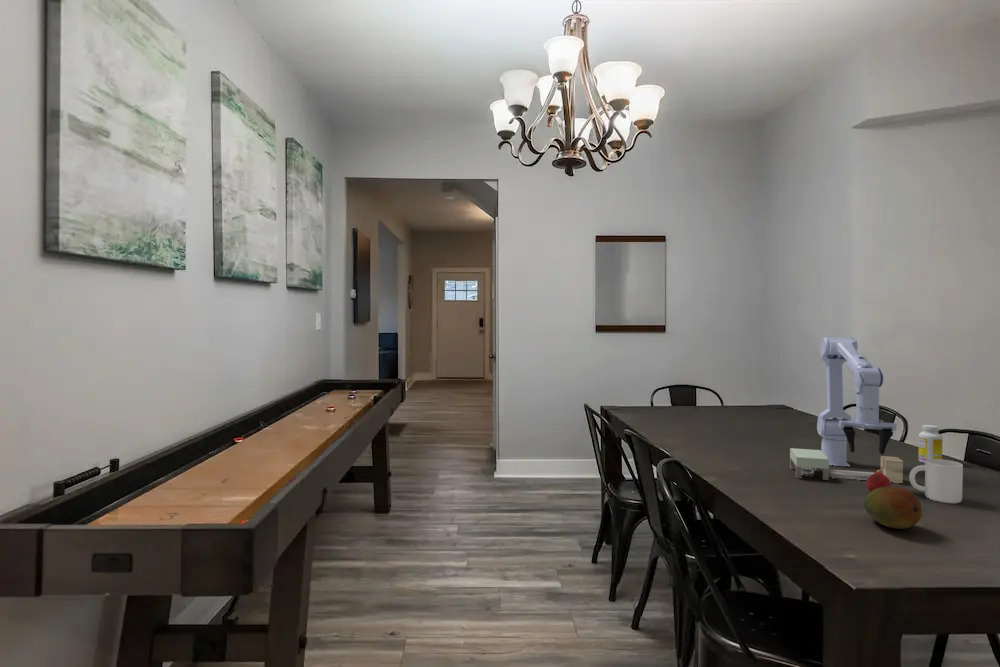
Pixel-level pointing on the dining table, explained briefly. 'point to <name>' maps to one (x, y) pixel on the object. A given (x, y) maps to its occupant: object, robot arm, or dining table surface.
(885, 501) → the fruit
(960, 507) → the dining table surface
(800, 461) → the green top stand
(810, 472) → the token
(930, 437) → the supplement bottle
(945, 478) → the mug
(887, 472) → the beige piece
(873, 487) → the pomegranate
